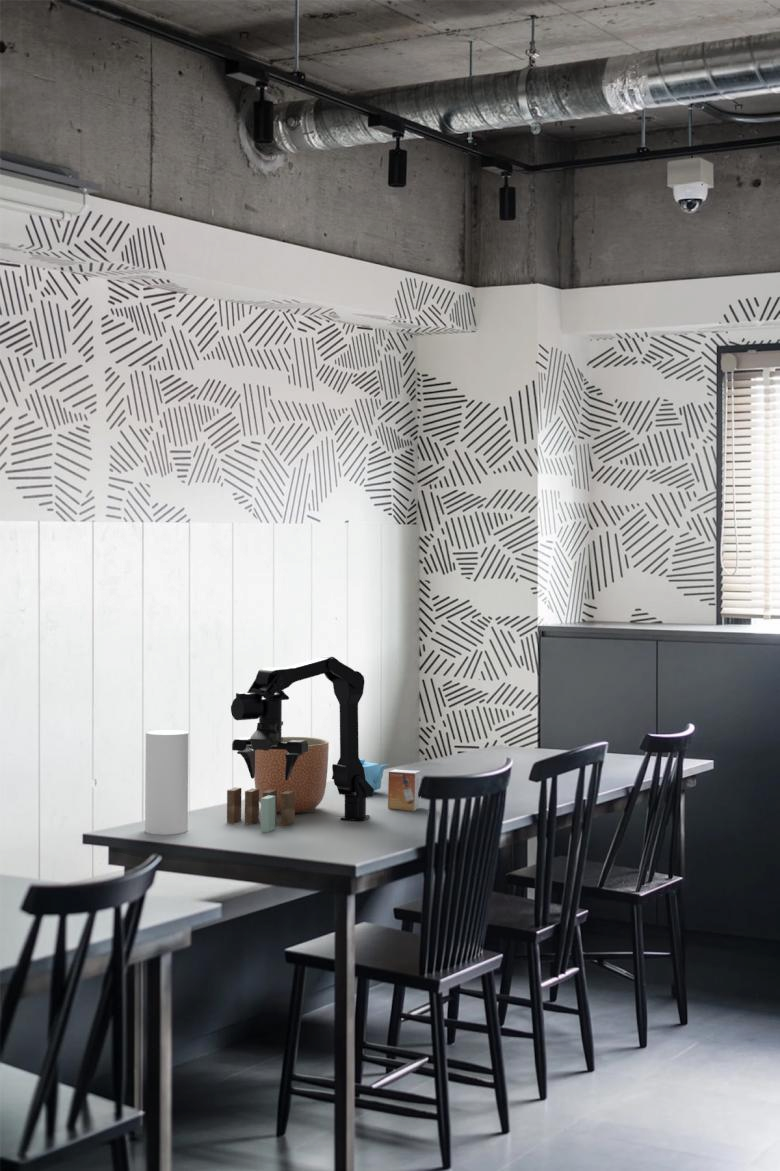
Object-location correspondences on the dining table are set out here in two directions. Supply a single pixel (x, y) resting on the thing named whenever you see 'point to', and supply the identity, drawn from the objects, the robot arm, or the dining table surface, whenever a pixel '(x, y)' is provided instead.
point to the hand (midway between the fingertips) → (269, 779)
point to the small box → (403, 789)
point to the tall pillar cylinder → (166, 782)
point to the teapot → (373, 774)
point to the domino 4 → (267, 813)
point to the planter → (294, 773)
